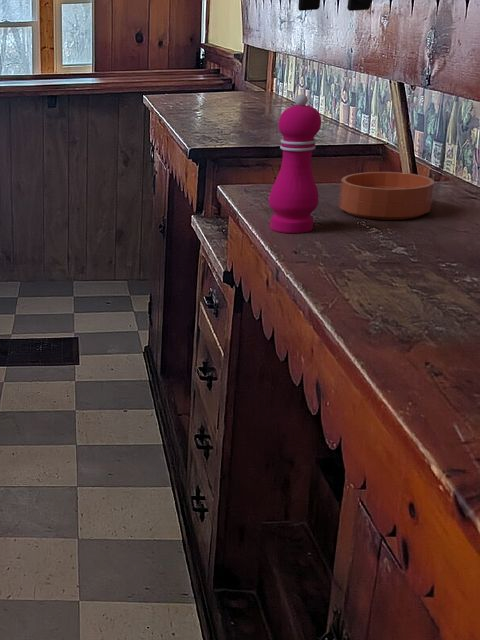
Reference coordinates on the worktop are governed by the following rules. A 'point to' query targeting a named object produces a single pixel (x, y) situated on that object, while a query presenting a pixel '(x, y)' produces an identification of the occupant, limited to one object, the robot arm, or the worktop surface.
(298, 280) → the worktop surface
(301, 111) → the pepper mill
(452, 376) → the worktop surface
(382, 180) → the bowl
